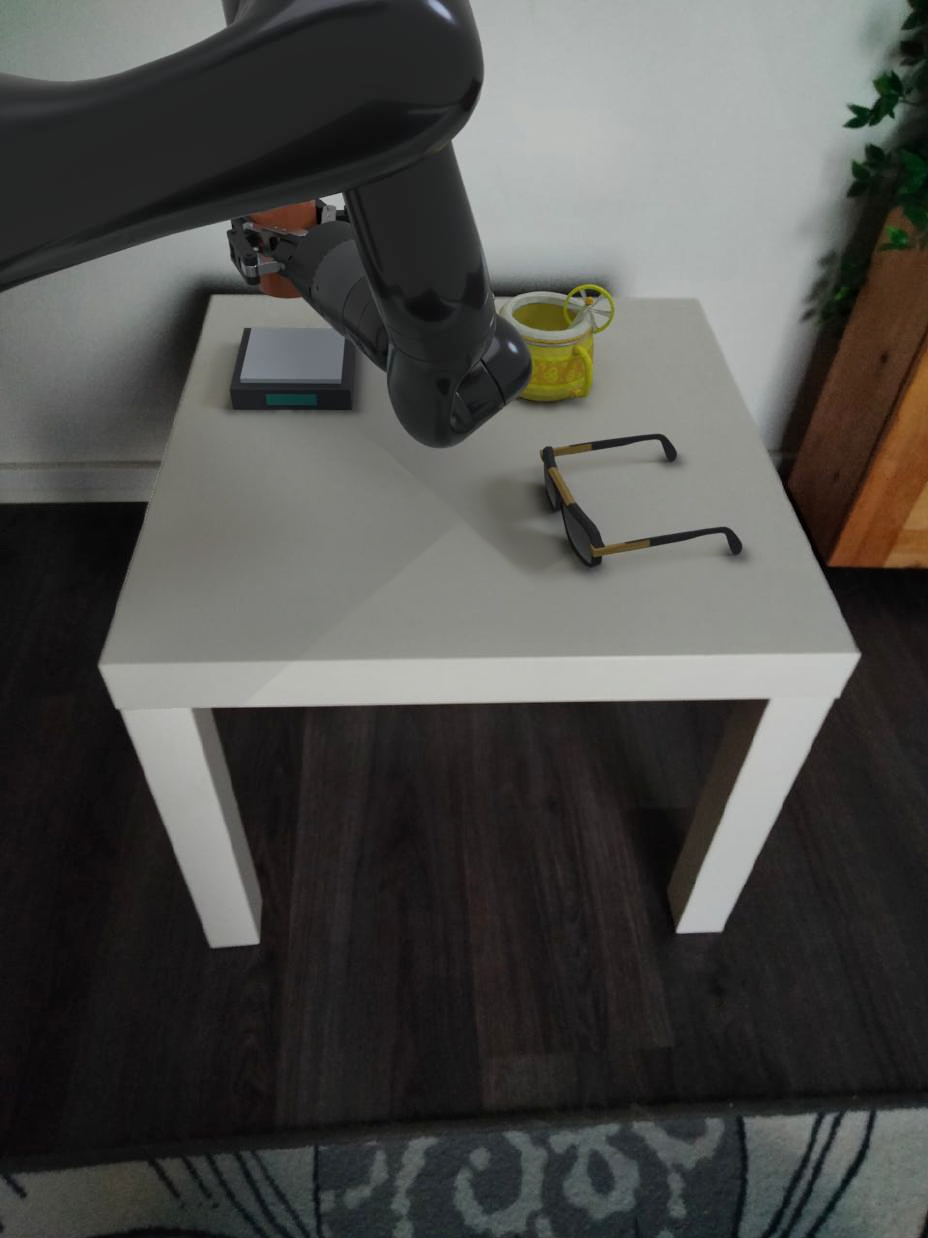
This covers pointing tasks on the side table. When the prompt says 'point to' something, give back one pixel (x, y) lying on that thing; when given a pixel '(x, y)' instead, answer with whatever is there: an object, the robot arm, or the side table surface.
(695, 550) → the side table surface
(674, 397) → the side table surface
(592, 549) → the sunglasses
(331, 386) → the scale
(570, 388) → the mug
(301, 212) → the cup
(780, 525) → the side table surface
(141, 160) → the robot arm
